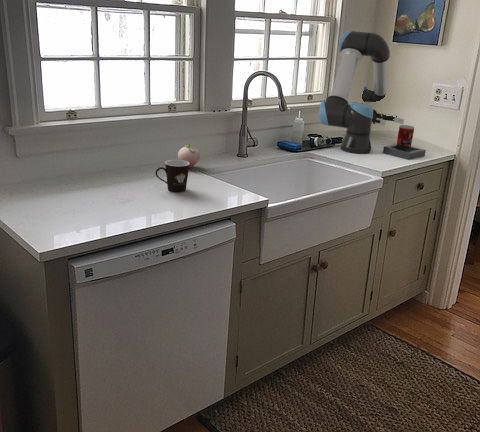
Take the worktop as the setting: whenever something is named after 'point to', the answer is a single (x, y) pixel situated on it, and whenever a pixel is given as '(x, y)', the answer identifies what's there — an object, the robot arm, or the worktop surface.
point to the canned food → (405, 135)
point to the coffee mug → (176, 175)
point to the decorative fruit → (189, 155)
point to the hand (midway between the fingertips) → (394, 122)
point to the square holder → (404, 151)
